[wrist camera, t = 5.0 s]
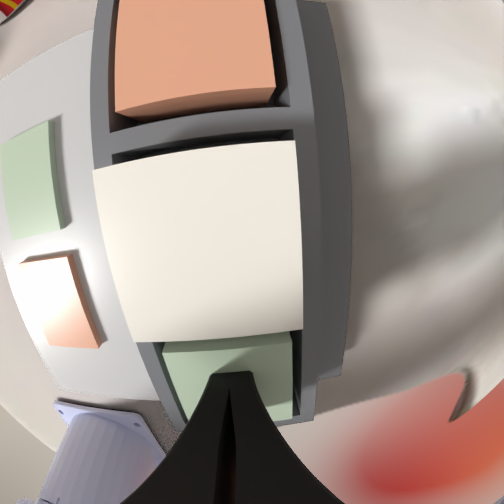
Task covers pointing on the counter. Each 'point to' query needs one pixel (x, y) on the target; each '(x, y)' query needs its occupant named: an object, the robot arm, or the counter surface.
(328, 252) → the keypad
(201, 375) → the key sage
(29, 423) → the counter surface
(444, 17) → the counter surface
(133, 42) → the key terracotta
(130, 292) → the key ivory
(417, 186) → the counter surface
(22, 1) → the soda can
